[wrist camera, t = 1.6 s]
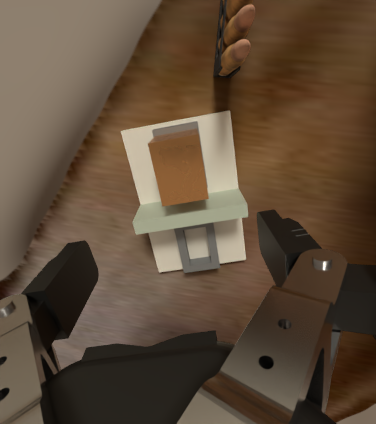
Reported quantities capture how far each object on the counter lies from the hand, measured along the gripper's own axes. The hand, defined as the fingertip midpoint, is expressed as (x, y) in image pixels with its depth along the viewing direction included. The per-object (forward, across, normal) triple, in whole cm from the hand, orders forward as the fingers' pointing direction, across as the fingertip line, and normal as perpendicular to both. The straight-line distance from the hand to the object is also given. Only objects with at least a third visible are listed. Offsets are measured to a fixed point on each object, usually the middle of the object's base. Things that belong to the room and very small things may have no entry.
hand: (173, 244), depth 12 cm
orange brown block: (+19, 0, 0) cm, 19 cm away
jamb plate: (+20, 0, +5) cm, 21 cm away
